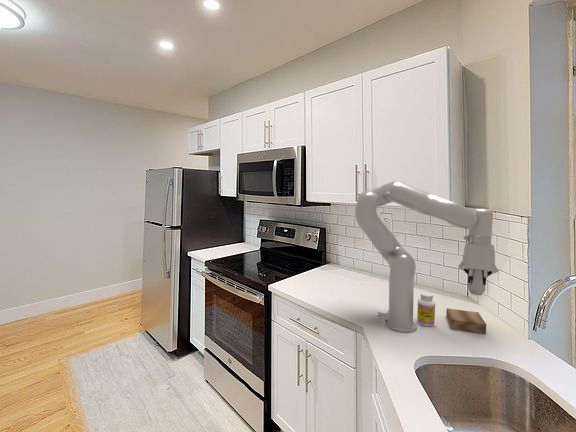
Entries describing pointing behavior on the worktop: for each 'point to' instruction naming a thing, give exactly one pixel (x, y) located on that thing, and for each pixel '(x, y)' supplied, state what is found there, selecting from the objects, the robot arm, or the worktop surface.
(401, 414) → the worktop surface
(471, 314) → the walnut riser block
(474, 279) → the salt shaker
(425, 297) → the supplement bottle
